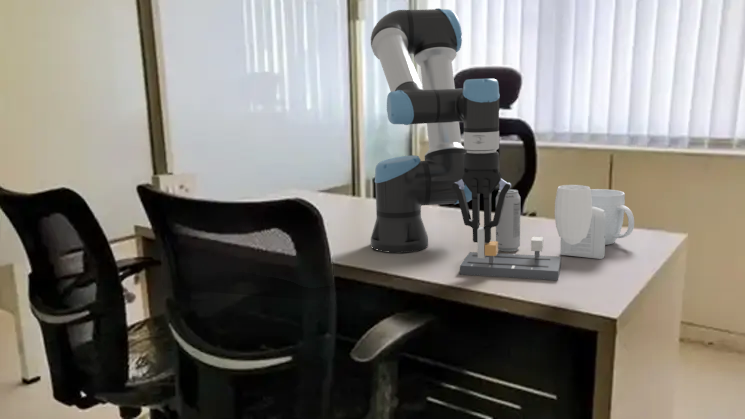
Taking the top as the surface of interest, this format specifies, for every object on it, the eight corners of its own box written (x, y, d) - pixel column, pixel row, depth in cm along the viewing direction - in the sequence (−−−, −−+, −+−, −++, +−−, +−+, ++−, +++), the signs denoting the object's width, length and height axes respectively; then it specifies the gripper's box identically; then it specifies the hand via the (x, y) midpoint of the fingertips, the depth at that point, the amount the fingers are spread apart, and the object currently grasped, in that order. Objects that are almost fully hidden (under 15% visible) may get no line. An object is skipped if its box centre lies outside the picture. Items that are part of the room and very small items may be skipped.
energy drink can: (499, 245, 169) (500, 188, 166) (522, 247, 166) (523, 189, 163) (492, 250, 164) (492, 192, 161) (516, 253, 161) (516, 193, 158)
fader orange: (484, 263, 144) (484, 244, 143) (487, 259, 147) (487, 241, 147) (495, 264, 143) (495, 245, 142) (498, 260, 147) (498, 241, 146)
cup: (563, 294, 130) (565, 191, 126) (547, 283, 137) (548, 185, 133) (596, 290, 131) (600, 188, 127) (579, 280, 138) (581, 183, 134)
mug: (645, 245, 164) (647, 194, 161) (617, 252, 158) (619, 199, 156) (596, 235, 176) (597, 187, 174) (568, 241, 170) (570, 192, 168)
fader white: (530, 258, 147) (531, 240, 146) (532, 254, 150) (532, 236, 149) (541, 259, 146) (542, 240, 145) (543, 255, 149) (543, 237, 148)
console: (460, 274, 145) (459, 265, 145) (469, 259, 156) (469, 251, 156) (557, 280, 138) (558, 270, 138) (560, 264, 150) (561, 255, 149)
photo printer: (606, 255, 156) (607, 205, 153) (603, 260, 152) (604, 208, 150) (562, 251, 161) (563, 202, 158) (558, 256, 157) (559, 205, 155)
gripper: (448, 153, 140) (449, 259, 144) (509, 152, 136) (509, 262, 140) (455, 149, 147) (456, 251, 151) (514, 149, 142) (513, 253, 147)
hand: (482, 256), depth 145 cm, fingers closed
